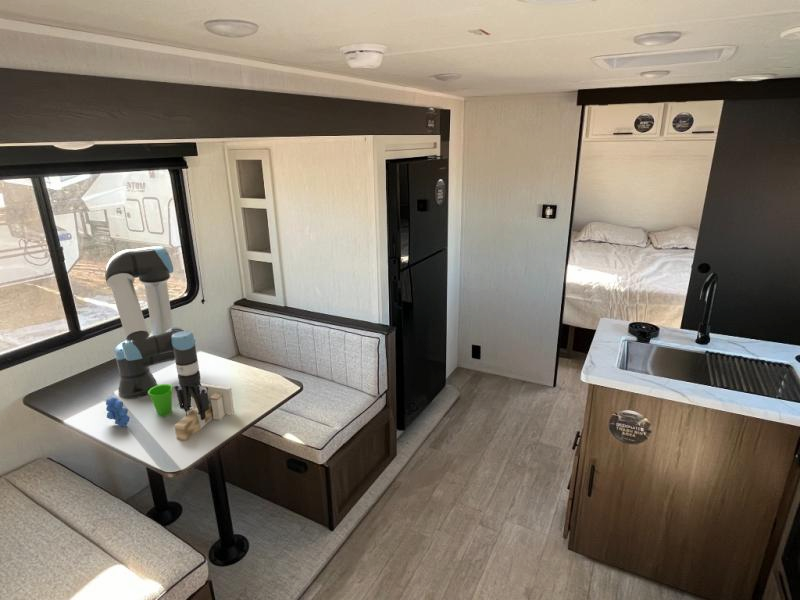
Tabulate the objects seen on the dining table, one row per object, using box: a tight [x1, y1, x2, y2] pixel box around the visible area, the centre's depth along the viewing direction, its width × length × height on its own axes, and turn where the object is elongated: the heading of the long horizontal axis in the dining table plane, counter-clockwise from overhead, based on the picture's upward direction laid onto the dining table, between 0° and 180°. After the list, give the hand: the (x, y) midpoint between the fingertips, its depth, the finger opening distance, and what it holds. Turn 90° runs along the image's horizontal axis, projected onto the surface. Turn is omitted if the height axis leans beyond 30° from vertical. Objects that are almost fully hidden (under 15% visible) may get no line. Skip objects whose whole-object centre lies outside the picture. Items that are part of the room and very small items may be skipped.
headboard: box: [191, 382, 235, 420], centre depth 187 cm, size 18×6×12 cm, turn 76°
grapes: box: [105, 396, 131, 427], centre depth 179 cm, size 12×7×12 cm, turn 63°
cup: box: [147, 383, 174, 417], centre depth 187 cm, size 9×9×11 cm
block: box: [174, 401, 214, 441], centre depth 179 cm, size 18×4×6 cm, turn 165°
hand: (197, 425), depth 180 cm, fingers closed on block, 4 cm apart
